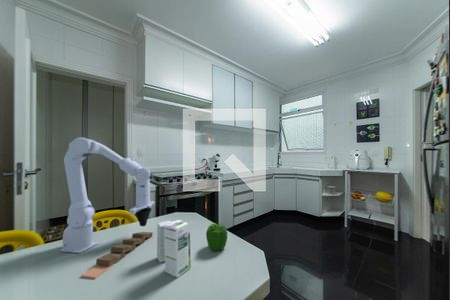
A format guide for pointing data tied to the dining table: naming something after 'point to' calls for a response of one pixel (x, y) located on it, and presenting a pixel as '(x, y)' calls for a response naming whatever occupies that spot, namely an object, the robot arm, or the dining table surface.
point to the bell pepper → (216, 237)
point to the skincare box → (161, 240)
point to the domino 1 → (96, 271)
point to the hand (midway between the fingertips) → (143, 225)
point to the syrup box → (177, 247)
